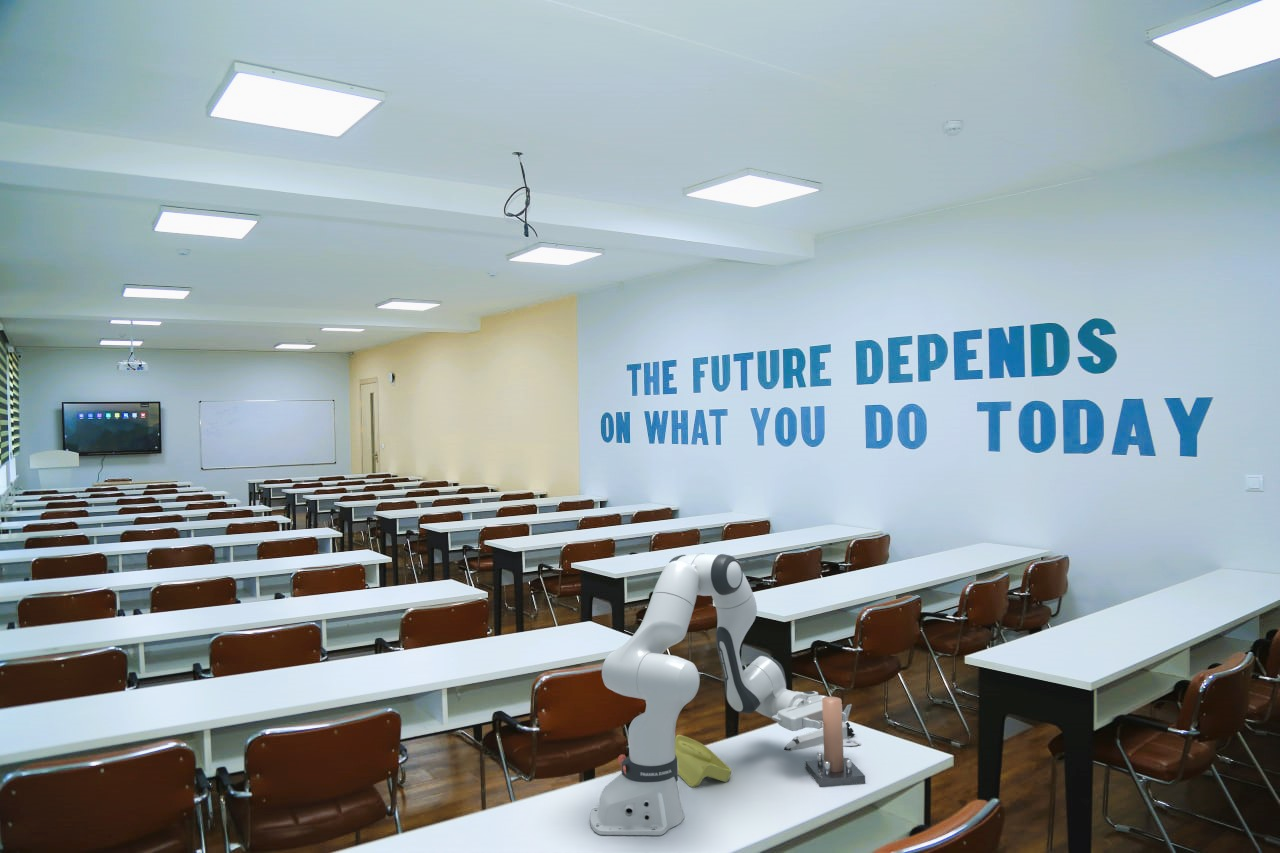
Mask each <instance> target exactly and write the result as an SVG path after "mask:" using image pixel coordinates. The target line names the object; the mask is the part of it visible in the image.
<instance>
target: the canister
mask: <svg viewBox="0 0 1280 853" xmlns="http://www.w3.org/2000/svg"><path fill="white" fill-rule="evenodd" d="M842 703H843V701H842V698H840V697H837V696H827V697H824V698H822V709H823V727H822V729H823V738H824V745H823V760H824V761H830V771H831V772H840V771H843V770H844V758H845V757H843V755H844V747H843V729H842V712H843V704H842ZM824 767H825V766H824Z"/></svg>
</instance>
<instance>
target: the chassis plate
mask: <svg viewBox="0 0 1280 853" xmlns="http://www.w3.org/2000/svg"><path fill="white" fill-rule="evenodd" d="M844 755H845V754H843V757H844ZM804 762H805V769H806V771H807V772H808V774H809V775H810V776H811V777H812V779H813V780H814V781H815V782H816V783H817V785H818V786H819V788H824V787H825V788H826V787H838V786H849V785H851V786H852V785H861V784H862V785H863V784H866V774H864V773H863V772H862V770H860V768H858V766H856V764H855V763H853V761H852V759H850V758H849V757H844V770H843V771H840V772H831V771H830V761H824V754H823V752H820V751H819V752H817V753H816V760H815V759H814V760H806V761H805V760H804ZM824 766H825V767H824Z"/></svg>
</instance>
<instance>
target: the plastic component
mask: <svg viewBox="0 0 1280 853" xmlns="http://www.w3.org/2000/svg"><path fill="white" fill-rule="evenodd" d="M675 754H676V757H677V760H678V776H680V777H681V779H682V780H683V781H684V782H685V783H686V784H687V785H688V786H689V787H691V788H696V787H698V786H699V785H700V784H701V783H702V781H703V779H704V778H706V777H708V778H712V779H714V780H717V781H721V782H723V783H724V782H725V783H726V782H728V781H729V778H730V776H731V774H732V768H730V767H729V766H728V765H727V764H726V763H725V761H723V760H722V759H721V758H720V757H718V755H716V754H715V753H714V752H713V751H712V750H711V749H710V748H708V747H707V746H706V745H704V744H703V743H701V742H699V741H698V740H695V739H692V738H690V737H688V736H685V735H682V734H677V735H675Z"/></svg>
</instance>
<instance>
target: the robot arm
mask: <svg viewBox="0 0 1280 853" xmlns="http://www.w3.org/2000/svg"><path fill="white" fill-rule="evenodd" d="M697 596H702V597H707V596H709V597H710V596H711V598H712V600H713V604H714V606H715V609H716V617H717V625H716V627H717V628H716V632H715V643H716V647H717V652H718V657H719V661H720V665H721V670H722V675H723V678H724V689H725V698H726V700H727V701H726V702H727V703H728V704H729V706H730V707H731V708H732V710H734V711H735V712H737V713H740V714H754V713H755V711H756V712H757V713H759V714H760V715H762V716H765V717H768V718H770V719H771V720H772V721H775V722H777V724H778V725H779V726H780V727H782V728H783V729H786V730H788V731H791V732H797V731H800V730H803V729H805V728H807V729H816V730H821V729H823V709H822V698H824V697H828V696H827V695H821V694H819V692H818V691H815V690H813V691H812V690H811V691H797V690H796V691H793V690H790V689H787V679H786V675H785V670H784V667H783V666H782V664H781V663H780V662H779V661H778V660H776V659H775V658H772V657H771V656H769V655H759V656H758V657H756V658H755V659H754V660H753V661H752V662H751V663H750V664H749V665H747V667H746V668H745V669H743V666H742V664H743V663H742V661H741V660H742V659H741V656H740V650H741V645H742V643H743V641H744V639H745V636H746V635H747V633H748V631H749V630H750V628H751V626H752V625H753V623H754V622H755V620H756V617H757V613H758V607H757V602H756V598H755V595H754V593H753V590H752V588H751V584H750V583H749V581H748V579H747V577H746V575H745V574H744V571H743V568H742V566H741V564H740V562H739V561H738V560H737V558H736V557H734V556H732V555H730V554H726V553H725V554H724V553H721V554H714V553H713V554H712V553H701V552H700V553H692V554H680V555H676V556H674V557H673V558H671V559H670V560H669V562H668V563H667V564H666V565H665V566H664V568H663V570H662V571H661V574H660V576H659V577H658V580H657V582H656V583H655V586H654V588H653V591H652V595H651V597H650V601H649V603H648V606H647V609H646V610H645V614H644V616H643V619H642V621H641V623H640V626H638V628H637V630H636V631H635V633H633V635H632V636H631V637H630V638H629V639H628V640H627V641H626V642H625V643H624V644H623V645H622V646H619V648H617V649H615V650H613V651H611V652H610V653H609V654H608V655H607V656H606V657H605V659H604V661H603V662H602V668H601V678H602V681H603V684H604V686H605V687H606V689H608V690H610V691H613V693H615V694H618V695H621V696H624V697H628V698H635V699H640V700H644V701H645V704H646V706H645V711H644V712H643V713H640V714H639V715H637V716H636V717H634V718H633V719H632V721H631V723H630V724H629V727H628V751H629V752H628V756H626V755H625V754H620V755H619V756H618V759H617V760H618V763H619V765H620V770H621V772H620V774H618V775H617V776H616V777H615V778H614V779H613V780H611V781H610V782H609V783H607V784H606V785H605V786H604V787H603V789H602V791H601V794H600V797H599V802H598V804H597V805H595V806H594V807H593V808H592V809H591V812H590V815H589V823H590V826H591V829H592V830H593V832H595V833H596V834H597V835H603V836H663V835H664V834H665V833H666V832H668V830H670V829H672V828H674V827H676V826H678V825H679V824H681V822H682V821H683V820H684V818H685V813H684V810H683V806H682V803H681V798H680V794H679V787H678V781H679V774H678V760H677V757H676V754H675V737H676V726H677V722H678V721H677V720H678V717H679V715H680V713H681V711H682V709H683V708H684V707H685V706H686V705H687V704H688V703H690V702H691V701H692V700H693V699H694V698H695V697H696V695H697V693H698V691H699V688H700V674H699V671H698V669H697V665H695V663H694V662H692V661H690V660H687V659H686V658H682V657H680V656H677V655H671V654H664V652H666V651H667V650H668V649H669V648H671V647H673V646H675V645H677V644H678V643H680V642H682V641H683V640H684V639H685V637H686V635H687V632H688V628H689V625H690V622H691V619H692V617H693V616H692V614H693V612H694V608H695V604H696V601H697ZM843 720H846V713H843V711H842V721H843Z"/></svg>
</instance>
